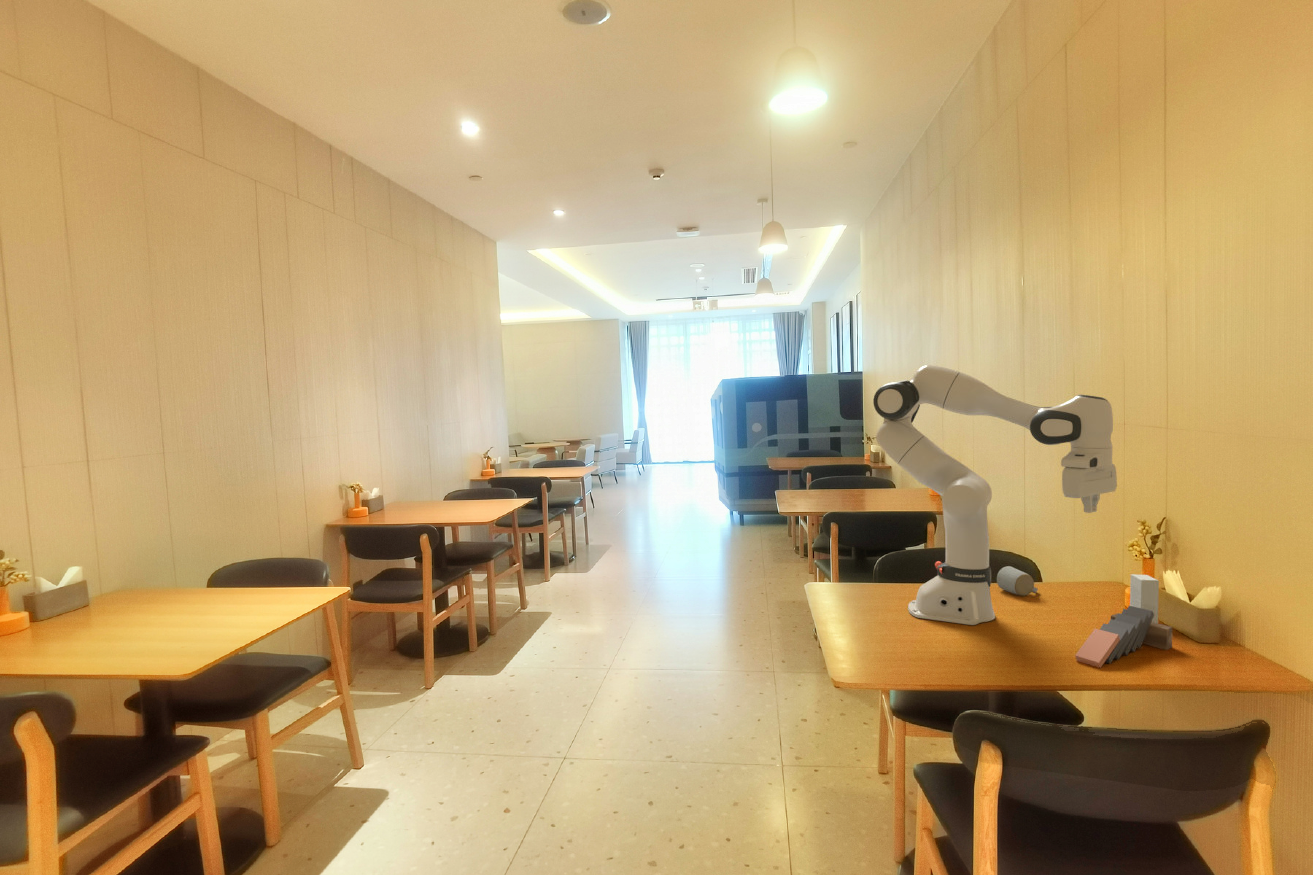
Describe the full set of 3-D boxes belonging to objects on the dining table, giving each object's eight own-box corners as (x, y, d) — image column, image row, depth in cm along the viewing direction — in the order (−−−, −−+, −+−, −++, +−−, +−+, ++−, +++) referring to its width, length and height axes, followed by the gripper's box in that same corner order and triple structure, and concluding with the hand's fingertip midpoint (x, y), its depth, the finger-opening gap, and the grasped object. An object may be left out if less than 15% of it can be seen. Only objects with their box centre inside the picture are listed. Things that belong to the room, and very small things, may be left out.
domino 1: (1098, 662, 146) (1118, 634, 151) (1075, 655, 151) (1094, 628, 155) (1100, 667, 147) (1120, 639, 151) (1076, 660, 151) (1096, 633, 155)
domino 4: (1125, 651, 152) (1141, 618, 156) (1101, 644, 157) (1117, 613, 160) (1127, 655, 153) (1143, 622, 157) (1103, 648, 157) (1119, 617, 161)
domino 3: (1116, 654, 150) (1134, 624, 154) (1093, 648, 155) (1110, 619, 159) (1118, 659, 151) (1136, 629, 155) (1094, 652, 155) (1112, 623, 159)
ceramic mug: (1016, 598, 197) (1016, 573, 197) (995, 590, 205) (996, 566, 205) (1044, 595, 200) (1045, 570, 199) (1023, 588, 208) (1024, 564, 207)
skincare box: (1158, 625, 172) (1159, 580, 171) (1140, 624, 173) (1141, 580, 172) (1146, 617, 178) (1147, 574, 177) (1128, 616, 179) (1129, 573, 178)
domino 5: (1132, 648, 154) (1147, 614, 158) (1108, 642, 159) (1123, 608, 162) (1134, 652, 155) (1149, 617, 158) (1110, 645, 159) (1125, 612, 163)
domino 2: (1108, 658, 148) (1127, 629, 153) (1084, 651, 153) (1103, 623, 157) (1110, 663, 149) (1128, 634, 153) (1086, 656, 153) (1105, 628, 157)
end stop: (1166, 649, 156) (1166, 629, 156) (1110, 635, 166) (1110, 615, 166) (1171, 647, 157) (1172, 626, 157) (1116, 632, 168) (1116, 613, 167)
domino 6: (1137, 644, 156) (1152, 610, 159) (1114, 638, 160) (1128, 605, 163) (1139, 648, 156) (1154, 614, 160) (1116, 642, 161) (1130, 609, 164)
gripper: (1098, 455, 175) (1097, 506, 176) (1057, 460, 164) (1056, 514, 165) (1124, 456, 169) (1123, 509, 170) (1084, 462, 159) (1083, 518, 160)
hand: (1090, 512), depth 168 cm, fingers closed
